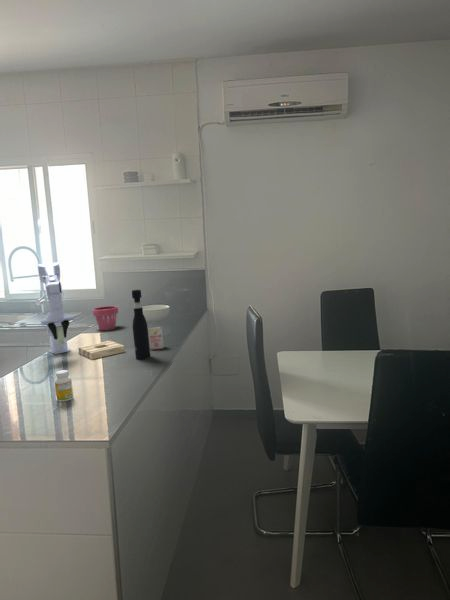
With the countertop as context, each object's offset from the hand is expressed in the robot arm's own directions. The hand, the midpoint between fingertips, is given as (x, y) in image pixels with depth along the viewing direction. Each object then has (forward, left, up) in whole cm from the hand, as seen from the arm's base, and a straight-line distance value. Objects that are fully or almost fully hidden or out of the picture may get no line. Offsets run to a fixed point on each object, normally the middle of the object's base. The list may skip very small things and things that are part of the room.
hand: (60, 338), depth 212 cm
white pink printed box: (+19, +38, -10) cm, 44 cm away
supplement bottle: (+55, -17, -10) cm, 58 cm away
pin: (0, 0, -3) cm, 3 cm away
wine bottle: (+29, +26, -10) cm, 40 cm away
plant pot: (-48, +42, -10) cm, 65 cm away
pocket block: (+4, +17, -10) cm, 20 cm away
